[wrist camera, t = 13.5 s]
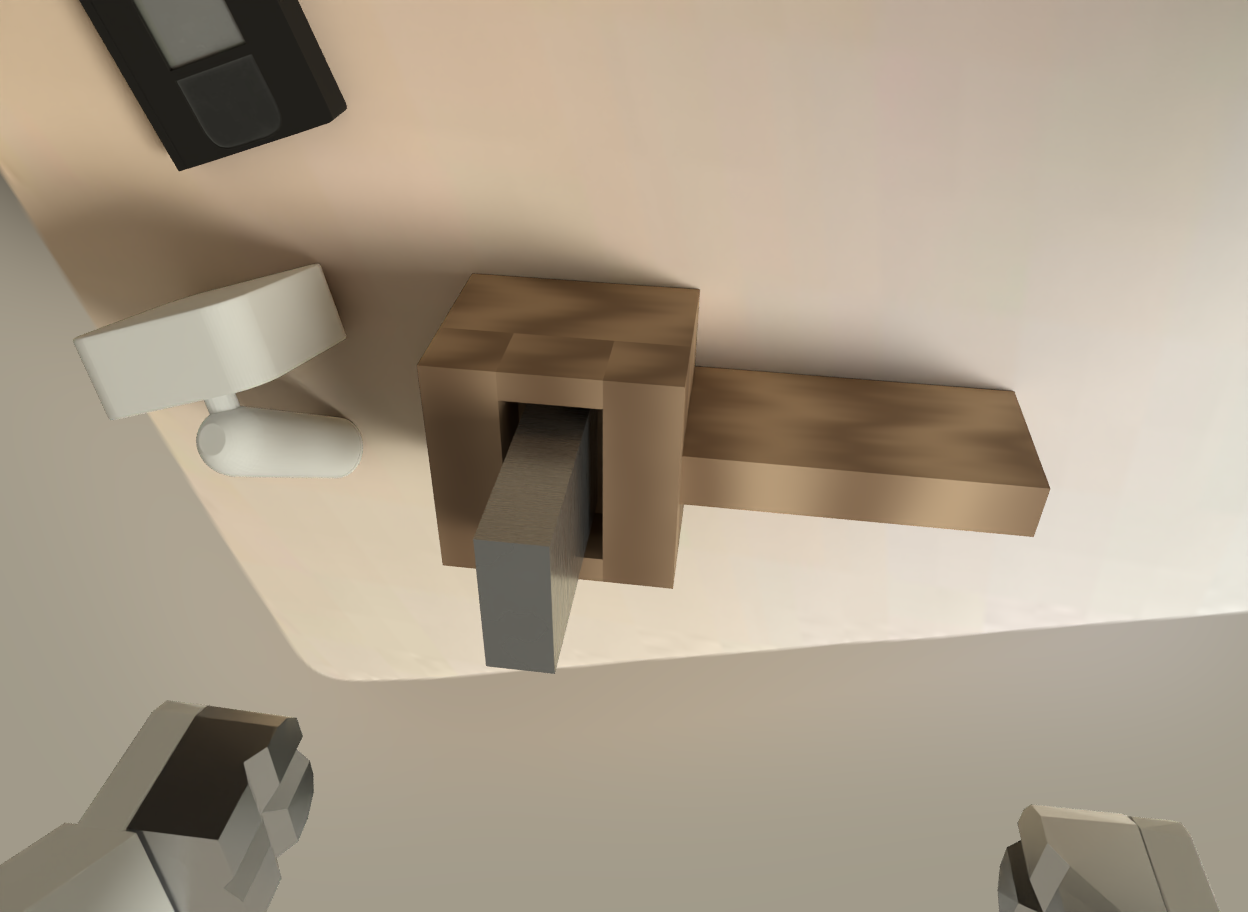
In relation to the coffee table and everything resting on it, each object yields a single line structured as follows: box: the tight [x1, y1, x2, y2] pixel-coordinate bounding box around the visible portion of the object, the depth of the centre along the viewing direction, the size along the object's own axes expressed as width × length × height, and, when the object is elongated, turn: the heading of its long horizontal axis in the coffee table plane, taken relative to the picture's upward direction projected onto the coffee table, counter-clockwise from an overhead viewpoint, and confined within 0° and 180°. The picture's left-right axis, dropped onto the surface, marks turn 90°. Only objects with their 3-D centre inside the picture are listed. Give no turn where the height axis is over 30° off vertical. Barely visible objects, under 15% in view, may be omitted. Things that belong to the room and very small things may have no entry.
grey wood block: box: [473, 403, 598, 674], centre depth 37 cm, size 2×6×10 cm, turn 179°
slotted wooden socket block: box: [417, 274, 1050, 589], centre depth 41 cm, size 24×10×8 cm, turn 89°
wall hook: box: [73, 264, 363, 478], centre depth 43 cm, size 8×10×10 cm
